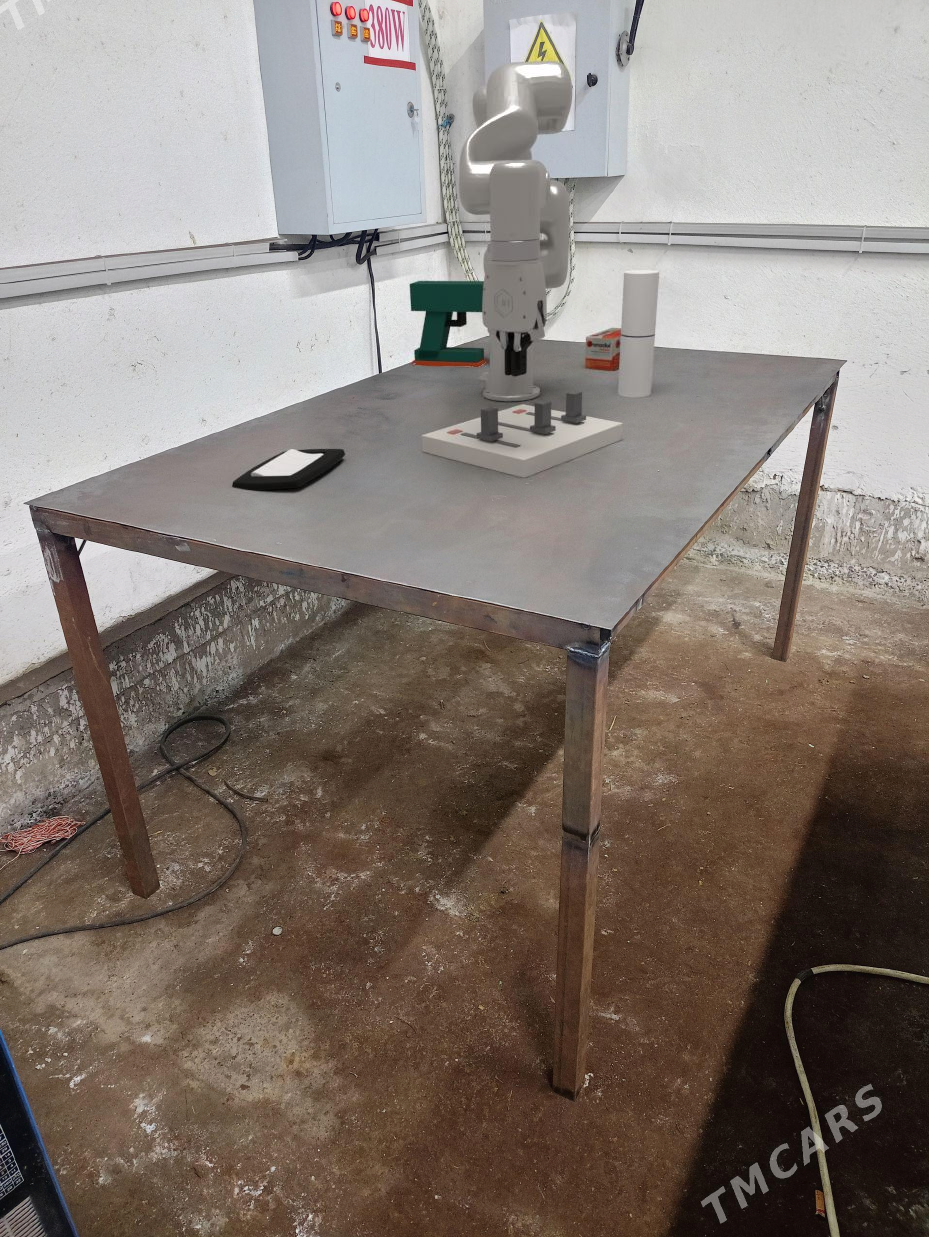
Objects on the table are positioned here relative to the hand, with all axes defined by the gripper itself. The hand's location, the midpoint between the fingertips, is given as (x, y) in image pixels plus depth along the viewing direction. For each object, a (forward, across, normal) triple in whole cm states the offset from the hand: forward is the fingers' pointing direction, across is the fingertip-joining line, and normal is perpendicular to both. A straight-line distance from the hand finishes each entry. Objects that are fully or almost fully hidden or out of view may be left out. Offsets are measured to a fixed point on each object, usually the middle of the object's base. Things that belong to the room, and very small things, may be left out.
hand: (515, 374), depth 139 cm
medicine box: (+16, -34, +77) cm, 86 cm away
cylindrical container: (+15, -12, +54) cm, 57 cm away
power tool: (+15, -63, +57) cm, 86 cm away
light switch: (+16, -27, -27) cm, 42 cm away
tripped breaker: (+12, -6, 0) cm, 13 cm away
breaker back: (+12, -2, +18) cm, 21 cm away
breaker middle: (+12, -1, +9) cm, 15 cm away
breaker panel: (+15, -6, +9) cm, 19 cm away
